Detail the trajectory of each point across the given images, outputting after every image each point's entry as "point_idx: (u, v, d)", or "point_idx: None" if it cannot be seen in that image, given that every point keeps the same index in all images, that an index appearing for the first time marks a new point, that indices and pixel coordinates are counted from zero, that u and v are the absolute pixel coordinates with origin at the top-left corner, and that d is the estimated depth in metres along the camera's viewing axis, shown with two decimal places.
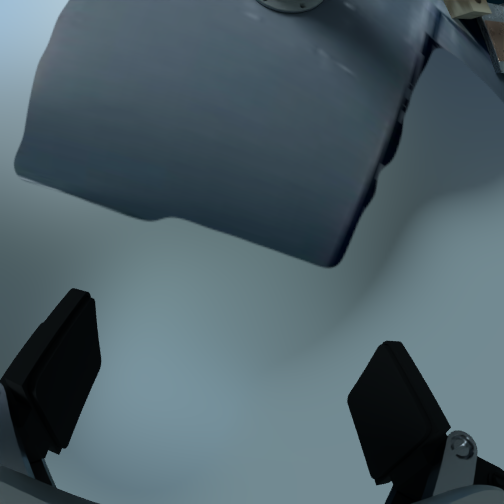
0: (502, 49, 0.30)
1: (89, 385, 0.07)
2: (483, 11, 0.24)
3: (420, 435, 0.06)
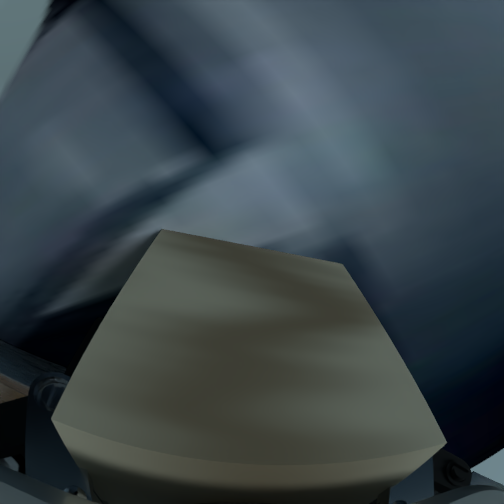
0: None
1: None
2: None
3: None
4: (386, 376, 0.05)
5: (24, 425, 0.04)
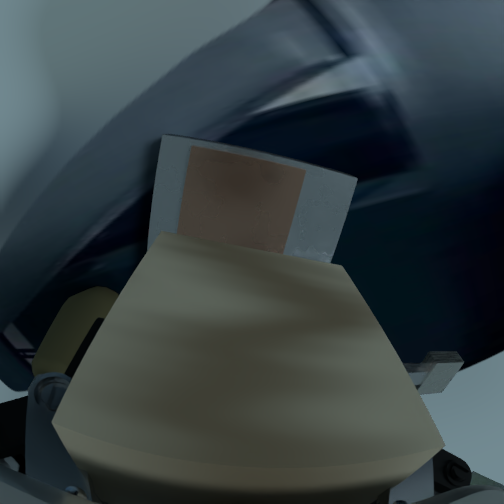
0: (218, 181, 0.23)
1: None
2: None
3: None
4: (385, 379, 0.05)
5: (24, 425, 0.04)
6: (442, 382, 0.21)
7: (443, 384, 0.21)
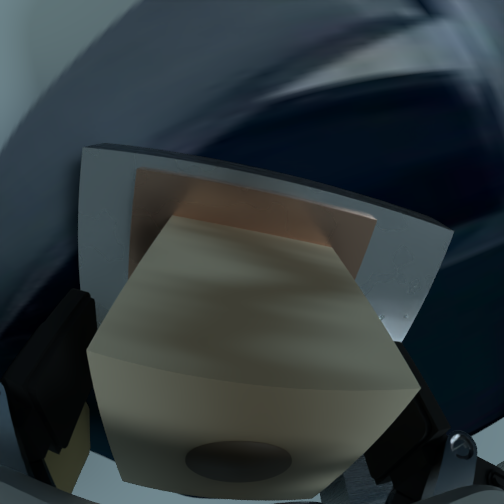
0: None
1: (89, 385, 0.07)
2: None
3: (420, 435, 0.06)
4: (365, 332, 0.06)
5: None
6: None
7: None
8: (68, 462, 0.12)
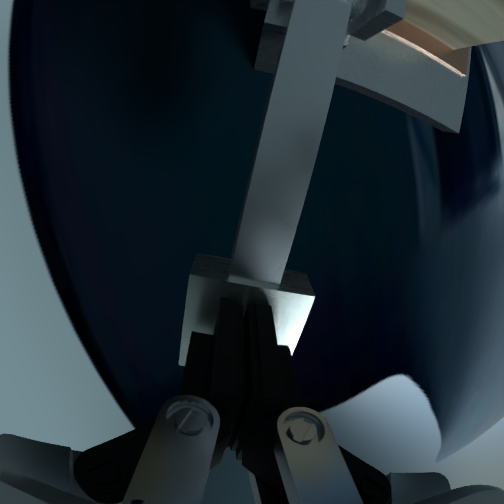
0: None
1: None
2: None
3: None
4: None
5: (141, 437, 0.05)
6: None
7: None
8: None
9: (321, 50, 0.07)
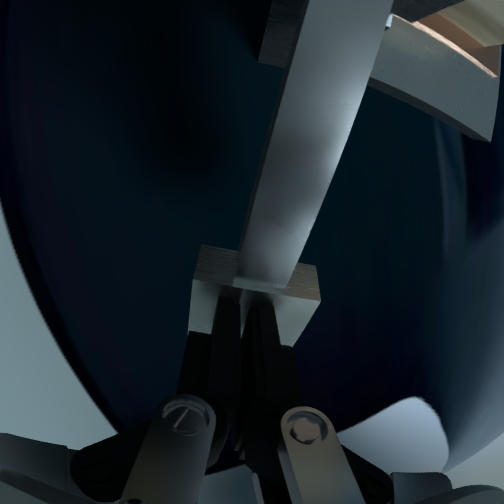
0: None
1: None
2: None
3: None
4: None
5: (138, 436, 0.05)
6: None
7: None
8: None
9: (353, 37, 0.04)
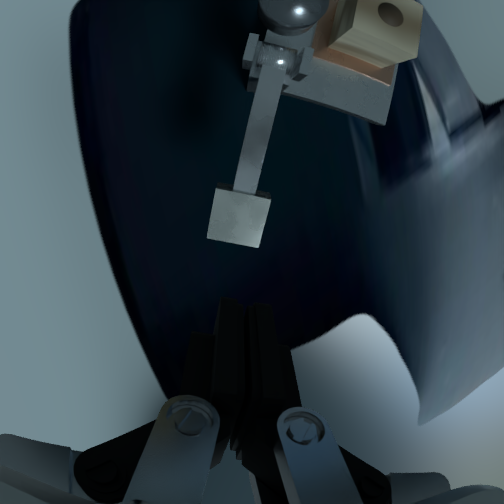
0: None
1: None
2: None
3: None
4: None
5: (141, 437, 0.05)
6: (228, 228, 0.22)
7: (223, 232, 0.22)
8: None
9: (271, 94, 0.18)
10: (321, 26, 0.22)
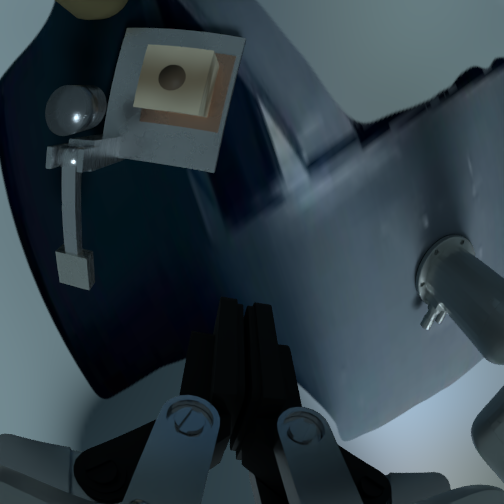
0: None
1: None
2: (176, 48, 0.20)
3: None
4: (202, 108, 0.24)
5: (141, 437, 0.05)
6: (69, 277, 0.28)
7: (67, 279, 0.28)
8: (90, 8, 0.19)
9: (70, 187, 0.23)
10: None
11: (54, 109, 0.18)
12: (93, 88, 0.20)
